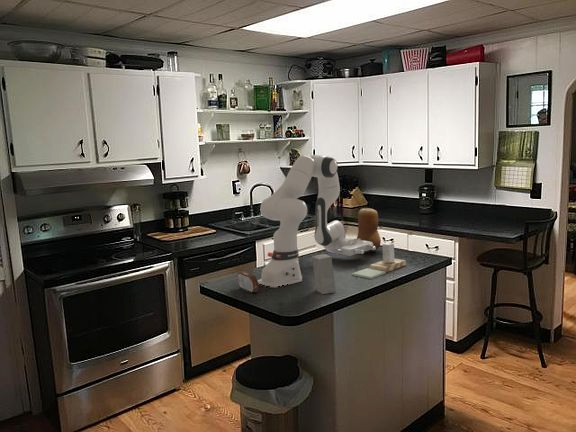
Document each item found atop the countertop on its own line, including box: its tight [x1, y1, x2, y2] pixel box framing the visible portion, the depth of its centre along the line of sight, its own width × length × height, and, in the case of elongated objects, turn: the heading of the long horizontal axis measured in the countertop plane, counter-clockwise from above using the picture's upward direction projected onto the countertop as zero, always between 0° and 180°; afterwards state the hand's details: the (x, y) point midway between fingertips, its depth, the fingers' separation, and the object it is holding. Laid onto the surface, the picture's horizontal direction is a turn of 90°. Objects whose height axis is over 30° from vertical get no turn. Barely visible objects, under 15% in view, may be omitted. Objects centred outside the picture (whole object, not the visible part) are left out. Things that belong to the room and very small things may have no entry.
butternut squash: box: [356, 207, 382, 254], centre depth 279 cm, size 14×13×25 cm
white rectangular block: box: [381, 242, 395, 264], centre depth 245 cm, size 4×4×12 cm
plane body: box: [369, 258, 407, 274], centre depth 246 cm, size 17×9×2 cm, turn 133°
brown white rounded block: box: [237, 270, 260, 293], centre depth 220 cm, size 15×3×8 cm, turn 34°
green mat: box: [351, 267, 386, 280], centre depth 235 cm, size 11×11×1 cm
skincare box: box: [311, 253, 336, 295], centre depth 212 cm, size 8×7×16 cm
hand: (369, 250), depth 254 cm, fingers open, 8 cm apart
